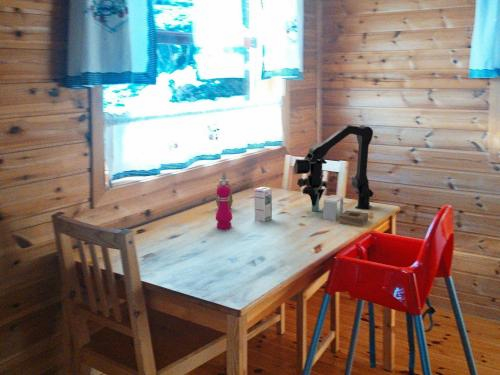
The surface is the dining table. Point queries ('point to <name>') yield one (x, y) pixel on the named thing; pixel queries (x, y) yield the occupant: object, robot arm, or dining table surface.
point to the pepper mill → (223, 207)
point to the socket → (353, 218)
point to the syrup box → (263, 203)
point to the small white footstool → (332, 207)
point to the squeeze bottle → (226, 185)
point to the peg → (316, 206)
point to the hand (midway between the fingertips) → (315, 205)
